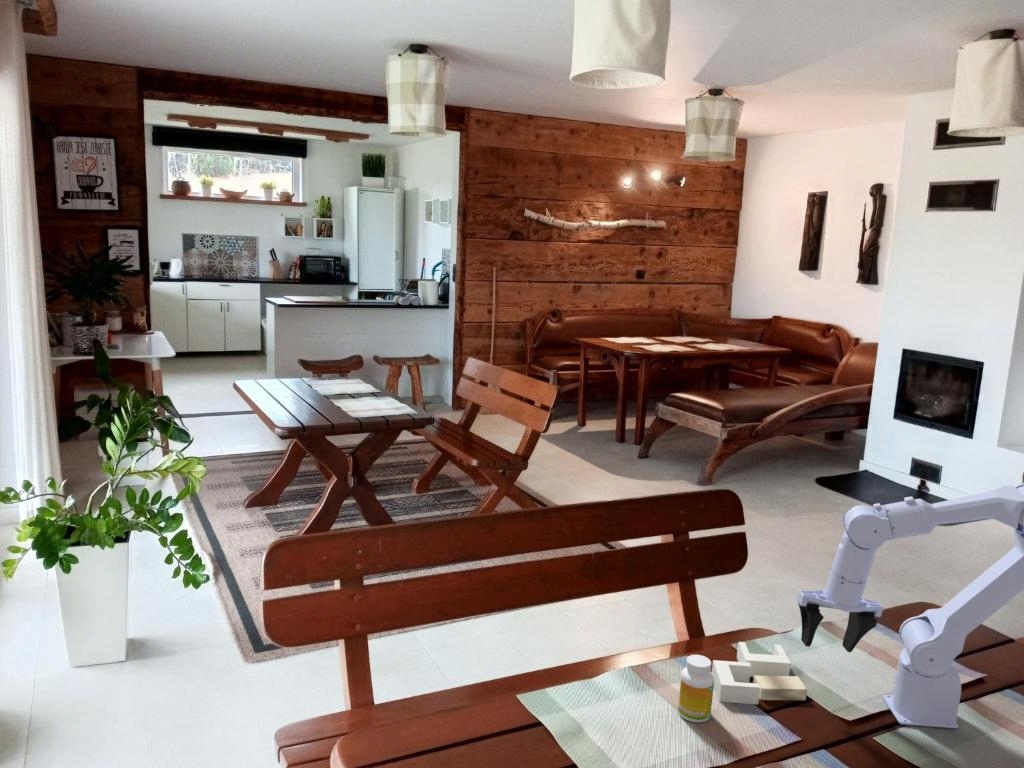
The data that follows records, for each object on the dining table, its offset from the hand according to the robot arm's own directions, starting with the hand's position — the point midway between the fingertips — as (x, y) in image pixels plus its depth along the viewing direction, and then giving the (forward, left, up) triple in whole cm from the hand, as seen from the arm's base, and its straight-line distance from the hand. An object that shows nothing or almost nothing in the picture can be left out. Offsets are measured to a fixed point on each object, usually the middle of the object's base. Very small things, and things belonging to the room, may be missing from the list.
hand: (826, 646), depth 139 cm
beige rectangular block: (+7, 0, -10) cm, 12 cm away
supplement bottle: (+23, +8, -10) cm, 26 cm away
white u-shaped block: (+8, -8, -10) cm, 15 cm away
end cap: (+15, 0, -10) cm, 18 cm away
